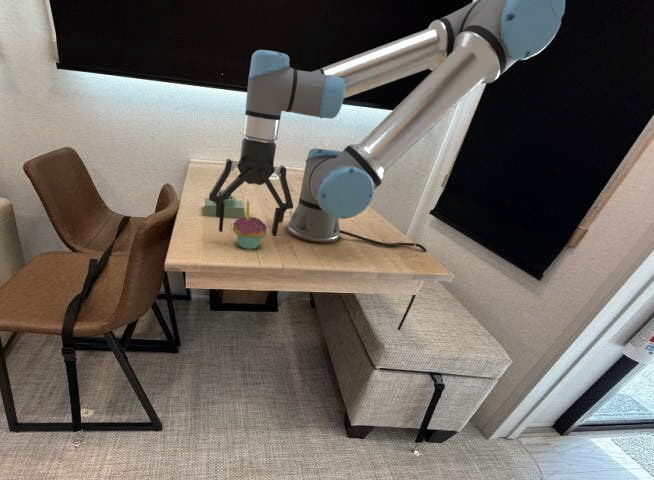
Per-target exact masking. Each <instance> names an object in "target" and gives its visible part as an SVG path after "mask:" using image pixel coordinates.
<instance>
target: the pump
mask: <svg viewBox="0 0 654 480" xmlns="http://www.w3.org/2000/svg"><path fill="white" fill-rule="evenodd" d="M224 190H225V189H220V191H219V192H218V196H219V195H220V194H221V193H222V192H223V191H224ZM231 195H232V194H231ZM231 195H230V196H229V197H228V198H227V199H231Z"/></svg>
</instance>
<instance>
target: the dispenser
mask: <svg viewBox="0 0 654 480" xmlns="http://www.w3.org/2000/svg"><path fill="white" fill-rule="evenodd" d="M217 196H218V194H217ZM224 205H225V208H224V218H233V219H235V218H236V219H239V218H242V217H245V206H244V203H243V201H242V200H237V197H236V196H234V195H232V194H231V199H226V200H225V201H224ZM204 216H207V217H216V203H215V202H213V201H210V200H209V197H204Z"/></svg>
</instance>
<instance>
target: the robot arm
mask: <svg viewBox="0 0 654 480" xmlns="http://www.w3.org/2000/svg"><path fill="white" fill-rule="evenodd" d="M565 10H566V0H475V1H473V2H471V3H468V4H467V5H465V6H464V7H462V8H459V9H458V10H455V11H454V12H452V13H450V14H448V15H446V16H443V17H441V18H439V19H435V20H433V21H432V22H431V23H430V24H429V26H428V27H427V28H426V29H424V30H420V31H418V32H416V33H412V34H409V35H408V36H405V37H402V38H399V39H397V40H394V41H392V42H388V43H386V44H383V45H380V46H378V47H375V48H373V49H369V50H367V51H364V52H361V53H359V54H356V55H354V56H350V57H348V58H345V59H342V60H340V61H337V62H335V63H331V64H329V65H326V66H324V67H321V68H319V69H316V70H313V71H305V70H299V69H296V68H293V67H291V66H290V57H289V55H288V54H286V53H283V52H279V51H273V50H267V49H258V50H255V51H254V52H253V54H251V60H250V66H249V74H248V82H247V89H246V90H247V92H246V101H245V102H246V103H245V113H244V122H243V132H242V135H243V136H244V138H243V139H241V149H240V158H239V160H238V161H234V160H232V159H231V158H227V159H226V160H225V164H224V168H223V170H222V172H221V174H220V176H219V177H218V178H217V180H216V182H215V183H214V185H213V187H212V189H211V190H210V192H209V194H208V198H209V200H210V201H213V202H215V203H216V216H215V218H219V221H218V232H220V233H223V228H224V220H225V219H224V218H225V217H224V208H225V205H224V201H225V200H226V199H227V198H228V197H229V196H230V195H232V194H233V193H234V192H235V191H236V190H237V189H238V188H239V187H241V185H243V184H244V183H246V184H248V185H258V186H262V185H263V184H265V185H266V187H267V189H268V190H269V192H270V194H271V195H272V197H273V199H274V201H275V203H276V204H277V205H278V207H275V210H274V216H273V221H272V228H271V234H272V236H273V237H277V236H278V235H277V234H278V229H279V224H282V223H283V222H284V218H285V214H286V213H285V212H287V210H289V217H290V219H289V220H288V223H287V231H288V233H289V234H290V235H292V236H293V237H295V238H298V239H301V240H303V241H307V242H311V243H312V242H313V243H318V244H319V243H320V244H321V243H322V244H327V243H328V244H329V243H333V242H336V241H338V239H339V237H340V234H343V235H346V236H348V237H352V238H355V239H358V240H361V241H364V242H369V243H371V244H375V245H379V246H384V247H396V246H403V247H404V246H405V247H418V248H419V249H421V250H422V251H423V252H425V253H427V252H428V250H427V248H426V247H425V246H424V245H422V244H421V243H414V242H403V241H402V242H393V243H392V242H391V243H390V242H382V241H378V240H374V239H370V238H367V237H363V236H361V235H358V234H355V233H352V232H349V231H345V230H342V229H340V219H341V220H345V219H352V218H354V217H356V216H359V215H360V214H361V213H363V212H364V211H365V210H366V209H367V208H368V207H369V206H370V204H371V202H372V200H373V195H374V193H375V190H376V189H377V188H378V187H380V186H381V185H382V184H383V183H384V176H385V175H384V174H385V172H386V171H387V170H389V169H390V167H391V166H393V165H394V164H395V163H396V162H397V161H398V160H399V159H400V158H401V157H402V156H403V155H405V154H406V153H407V152H408V151H409V150H410V149H411V148H412V147H414V145H415V144H416V143H418V142H419V141H420V140H421V139H422V138H423V137H424V136H425V135H426V134H427V133H428V132H429V131H430V130H432V129H433V128H434V127H435V126H436V125H437V124H438V123H439V122H440V121H441V120H442V119H444V117H446V116H447V115H448V114H449V113H450V112H451V111H453V109H454V108H455V107H457V106H458V105H459V104H460V103H461V102H462V101H463V100H465V98H466V97H468V95H470V93H472V92H473V91H474V90H475V89H476V88H478V86H479V85H480V84H491V83H493V82H495V81H496V80H497V79H498V78H499V77H501V75H502V74H504V73H505V72H506V71H507V70H508V69H509V68H510V67H512V65H514V64H515V63H517V61H524V60H525V61H526V60H528V59H529V58H531V57H532V58H533V57H534V56H537V55H538V54H540V53H541V52H542V51H544V49H546V48H547V47H548V45H550V44H551V42H552V41H553V39H554V38H555V36H556V35H557V33H558V32H559V29H560V27H561V25H562V18H563V16H564V14H565ZM426 70H430V71H431V72H430V73H429V74H427V76H426V77H425V78H424V79H423V80H422V81H421V82H420V83H419V84H418V85H417V86H416V87H415V88H414V89H413V90H412V91H411V92H410V93H409V94H407V96H406V97H405V98H404V99H403V100H402V101H401V102H400V103H399V104H398V105H397V106H396V107H394V109H393V110H392V111H391V112H389V114H388V115H386V117H385V118H383V119H382V121H381V122H379V124H378V125H377V126H376V127H375V128H374V129H373V130H372V131H371V132H370V133H369V134H368V135H367V136H366V137H365V138H363V140H361V141H360V142H359V143H357V144H348V145H347V146H346V147H345V148H344V149H343V150H342V151H341V150H334V149H326V148H325V149H324V148H311V149H310V150H309V151H308V153H307V158H306V159H305V165H304V166H305V167H304V171H303V178H302V183H301V186H300V187H301V188H300V193H299V198H298V203H297V206H296V208H295V210H294V212H292V209H294V203H293V199H292V195H291V192H290V191H291V190H290V188H289V185H288V181H287V168H286V167H285V166H284V165H279V166H275V165H274V162H275V155H276V149H277V144H276V142H275V141H278V138H279V137H278V136H279V130H280V124H281V123H280V122H281V117H282V116H281V115H282V113H283V112H285V113H293V114H298V115H303V116H309V117H316V118H319V119H331V120H332V119H335V118H336V117H337V116H338V115H339V113H340V111H341V109H342V106H343V103H344V99H346V98H349V97H352V96H354V95H358V94H361V93H363V92H366V91H369V90H372V89H375V88H377V87H381V86H382V85H386V84H389V83H392V82H395V81H397V80H400V79H402V78H406V77H409V76H412V75H415V74H417V73H421V72H423V71H426ZM236 168H237V170H238V171H239V174H238V175H237V176H236V178H235V179H234V180H233V181H232V182H231V183H230V184H229V185H227V187H226V188H225V189H223V190H224V191H223V192H222V193H221V194H220V195H219V196H217V194H218V192H219V191H220V190H222V187H223V186H224V184H225V182H226V181H227V179H228V178H229V176H230V174H231V172H234V171H235V169H236ZM274 173H275V174H276V177H278V179H279V182H280V187H281V191H282V193H283V197H284V201H285V202H283V199H281V197H280V195H279V194H278V192H277V190H276V188H275V186H274V185H273V183H272V181H271V179H270V178H271V177H272V175H274ZM414 244H415V245H416V246H415V245H414ZM416 296H417V294H416V295H413V294H412V296H411V298H410V301H409V303H408V305H407V308H406V310H405V312H404V313H403V316H402V318H401V321H400V323H399V325H398V326H397V329H398V330H401V329H402V326H403V325H404V322H405V321H406V318H407V316H408V314H409V312H410V310H411V308H412V305H413V303H414V301H415V298H416Z"/></svg>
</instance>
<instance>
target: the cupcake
mask: <svg viewBox="0 0 654 480" xmlns="http://www.w3.org/2000/svg"><path fill="white" fill-rule="evenodd" d="M246 201H247V202H246V216H244V217H242V218H237V219H236V220H234V222H233V223H232V231H233V233H234V234H235V235H236V237H237V242H238V246H239V247H241V248H243V249H247V250H252V249H256V248H257V247H258V246H259V243H260V241H261V240H262V238H263V237H265V236H266V235H267V229H268V228H267V225H266V223H264V222H263V221H262V220H261V219H259V218H258V217H256V216H250V202H249V199H248V198H247V199H246Z"/></svg>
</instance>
